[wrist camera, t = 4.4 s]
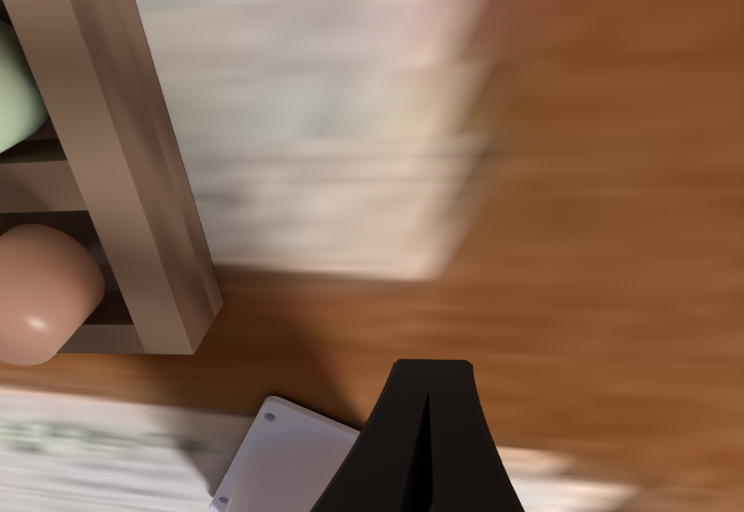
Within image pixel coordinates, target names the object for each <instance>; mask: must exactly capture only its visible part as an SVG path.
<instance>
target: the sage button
mask: <svg viewBox="0 0 744 512" xmlns="http://www.w3.org/2000/svg"><path fill="white" fill-rule="evenodd" d="M49 120H50V115H49V113H48V110H47V108H46V105H45V103H44V100H43V98H42V95H41V93H40V91H39V88H38V86H37V83H36V81H35V78H34V76H33V73H32V71H31V68H30V66H29V63H28V61H27V58H26V56H25V54H24V51H23V49H22V46H21V44H20V41H19V39H18V36H17V34H16V31H15V29H14V28H13V27H12V26H10V25H9V24H7V23H6V22H4V21H2V20H0V153H1V152H3V151H5V150H6V149H8V148H10V147H12V146H14V145H15V144H17V143H19V142H21V141H23V140H24V139H26V138H28V137H30V136H32V135H33V134H35V133H37V132H39V131H40V130H41V129H43V128H44V127H45V125H46V124H47V123H48V121H49Z"/></svg>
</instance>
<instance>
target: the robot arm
mask: <svg viewBox="0 0 744 512" xmlns="http://www.w3.org/2000/svg"><path fill="white" fill-rule="evenodd" d="M269 413H271V414H269ZM272 414H273V415H272ZM209 508H210V510H211V512H525V511H524V509H523V507H522V505H521V503H520V501H519V499H518V496H517V494H516V492H515V490H514V488H513V486H512V484H511V482H510V479H509V477H508V475H507V473H506V470H505V468H504V466H503V464H502V461H501V459H500V456H499V454H498V451H497V449H496V446H495V444H494V441H493V439H492V436H491V434H490V431H489V428H488V426H487V423H486V420H485V417H484V414H483V410H482V407H481V404H480V401H479V397H478V393H477V389H476V385H475V380H474V374H473V365H472V364H471V363H470V362H468V361H467V360H429V359H399V360H398V361H396V362H395V363H394V364H393V367H392V369H391V372H390V375H389V377H388V379H387V382H386V384H385V386H384V388H383V390H382V393H381V395H380V397H379V399H378V401H377V403H376V405H375V407H374V409H373V411H372V412H371V414H370V416H369V418H368V420H367V422H366V423H365V425H364V427H363V429H362V430H361V432H360V431H357V430H355V429H353V428H350V427H348V426H346V425H343V424H341V423H339V422H336V421H334V420H332V419H329V418H327V417H325V416H322V415H320V414H318V413H315V412H313V411H311V410H308V409H306V408H303V407H301V406H299V405H296V404H294V403H292V402H289V401H287V400H285V399H282V398H280V397H277V396H270V397H267V398H266V399H265V401H264V403H263V405H262V407H261V408H260V410H259V412H258V414H257V416H256V418H255V420H254V422H253V424H252V425H251V427H250V429H249V431H248V433H247V435H246V437H245V439H244V441H243V442H242V444H241V446H240V448H239V450H238V452H237V454H236V456H235V458H234V460H233V461H232V463H231V465H230V467H229V469H228V471H227V473H226V475H225V477H224V478H223V480H222V482H221V484H220V486H219V488H218V490H217V492H216V494H215V495H214V497H213V499H212V501H211V504H210V507H209Z"/></svg>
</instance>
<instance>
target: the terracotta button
mask: <svg viewBox="0 0 744 512" xmlns="http://www.w3.org/2000/svg"><path fill="white" fill-rule="evenodd" d="M104 292H105V282H104V277H103V274H102V271H101V269H100V267H99V265H98V264H97V262H96V260H95V259H94V258H93V256H92V255H91V254H90V253H89V252H88V251H87V250H86V248H85V247H83V246H82V245H81V244H80V243H79V242H78V241H76V240H75V239H73V238H72V237H70V236H69V235H67V234H65V233H63V232H61V231H59V230H57V229H54V228H52V227H49V226H45V225H39V224H22V225H18V226H15V227H13V228H11V229H9V230H8V231H7V232H5V233H4V234H3V235H1V236H0V361H3V362H7V363H10V364H16V365H25V366H27V365H37V364H41V363H44V362H46V361H48V360H49V359H51V358H52V357H53V356H54V355H55V354H56V353H57V351H58V350H59V349H60V348H61V347H62V346H63V345H64V344H65V342H66V341H67V340H68V339H69V338H70V337H71V336H72V335H73V333H74V332H75V331H76V330H77V329H78V328H79V327H80V326H81V325H82V323H83V322H84V321H85V320H86V319H87V318H88V317H89V316H90V314H91V313H92V312H93V311H94V310H95V309H96V308H97V307H98V305H99V304H100V303H101V301H102V299H103V296H104Z"/></svg>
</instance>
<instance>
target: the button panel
mask: <svg viewBox="0 0 744 512" xmlns="http://www.w3.org/2000/svg"><path fill="white" fill-rule="evenodd" d="M0 20H2V21H4V22H6V23H7V24H9V25H10V26H12V27H13V28H14V29H15V31H16V34H17V36H18V39H19V41H20V44H21V46H22V49H23V51H24V54H25V56H26V58H27V61H28V63H29V66H30V68H31V71H32V73H33V76H34V78H35V81H36V83H37V86H38V88H39V91H40V93H41V95H42V98H43V100H44V103H45V105H46V108H47V110H48V113H49V115H50V120H49V121H48V123H47V124H46V125H45V127H44V128H43V129H41V130H40V131H39V132H37V133H35V134H33V135H32V136H30V137H28V138H26V139H24V140H23V141H21V142H19V143H17V144H15V145H14V146H12V147H10V148H8V149H6V150H5V151H3V152H1V153H0V236H1V235H3V234H4V233H5V232H7V231H8V230H9V229H11V228H13V227H15V226H18V225H22V224H39V225H45V226H49V227H52V228H54V229H57V230H59V231H61V232H63V233H65V234H67V235H69V236H70V237H72V238H73V239H75V240H76V241H78V242H79V243H80V244H81V245H82V246H83V247H85V248H86V250H87V251H88V252H89V253H90V254H91V255H92V256H93V258H94V259H95V260H96V262H97V264H98V265H99V267H100V269H101V271H102V274H103V277H104V282H105V292H104V296H103V299H102V301H101V303H100V304H99V305H98V307H97V308H96V309H95V310H94V311H93V312H92V313H91V314H90V316H89V317H88V318H87V319H86V320H85V321H84V322H83V323H82V325H81V326H80V327H79V328H78V329H77V330H76V331H75V332H74V333H73V335H72V336H71V337H70V338H69V339H68V340H67V341H66V342H65V344H64V345H63V346H62V347H61V348H60V349H59V350H58V351H57V353H114V354H194V353H195V352H196V350H197V348H198V346H199V345H200V343H201V341H202V340H203V338H204V336H205V334H206V333H207V331H208V329H209V328H210V326H211V324H212V323H213V321H214V319H215V317H216V316H217V314H218V312H219V311H220V309H221V307H222V306H223V304H224V301H223V298H222V294H221V291H220V288H219V284H218V281H217V277H216V274H215V271H214V267H213V264H212V261H211V257H210V254H209V250H208V247H207V244H206V240H205V237H204V233H203V230H202V227H201V223H200V220H199V216H198V213H197V210H196V206H195V203H194V200H193V196H192V193H191V189H190V186H189V183H188V179H187V176H186V172H185V169H184V166H183V162H182V159H181V155H180V152H179V149H178V145H177V142H176V139H175V135H174V132H173V128H172V125H171V122H170V118H169V115H168V111H167V108H166V105H165V101H164V98H163V94H162V91H161V88H160V84H159V81H158V78H157V74H156V71H155V67H154V64H153V61H152V57H151V54H150V50H149V47H148V44H147V40H146V37H145V33H144V30H143V27H142V23H141V20H140V17H139V13H138V10H137V6H136V3H135V0H0Z"/></svg>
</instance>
